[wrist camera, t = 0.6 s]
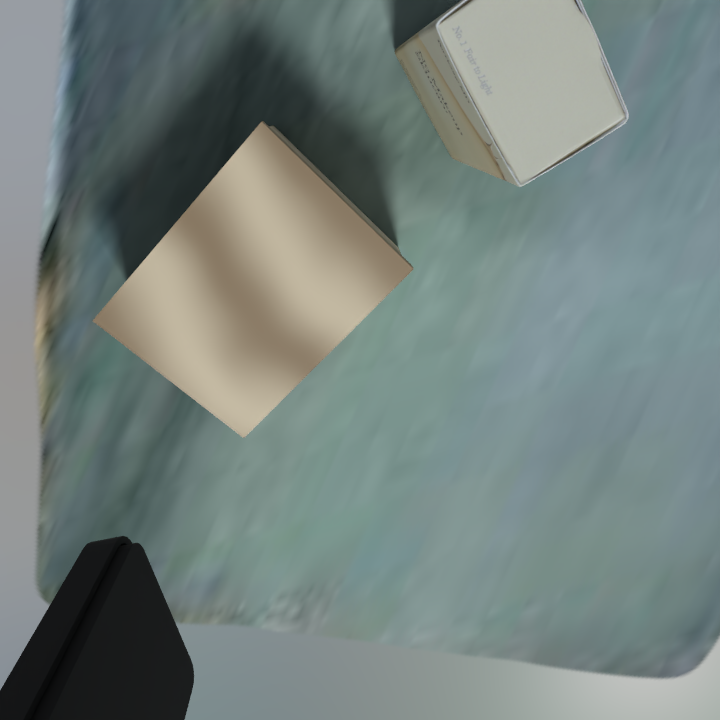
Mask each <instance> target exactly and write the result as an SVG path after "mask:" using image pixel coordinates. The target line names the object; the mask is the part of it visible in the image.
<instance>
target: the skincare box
mask: <svg viewBox="0 0 720 720" xmlns="http://www.w3.org/2000/svg"><path fill="white" fill-rule="evenodd" d="M395 54H396V56H397V58H398V60H399V62H400V64H401V65H402V67H403V69H404V71H405V73H406V75H407V77H408V79H409V81H410V83H411V85H412V87H413V89H414V90H415V92H416V94H417V96H418V98H419V100H420V101H421V103H422V105H423V107H424V109H425V111H426V113H427V114H428V116H429V118H430V120H431V121H432V123H433V125H434V127H435V129H436V130H437V132H438V134H439V136H440V137H441V139H442V141H443V143H444V145H445V146H446V148H447V150H448V152H449V154H450V155H451V157H452V158H453V159H455V160H457V161H460V162H462V163H464V164H467V165H469V166H472V167H474V168H476V169H479V170H481V171H484V172H486V173H488V174H491V175H493V176H495V177H498V178H501V179H503V180H505V181H508V182H510V183H512V184H515V185H517V186H519V187H521V186H524V185H526V184H527V183H529V182H531V181H532V180H534V179H536V178H537V177H539V176H540V175H542V174H544V173H546V172H547V171H549V170H551V169H552V168H554V167H556V166H557V165H559V164H561V163H563V162H564V161H566V160H567V159H569V158H571V157H572V156H574V155H576V154H577V153H579V152H580V151H582V150H584V149H585V148H587V147H589V146H590V145H592V144H594V143H595V142H597V141H598V140H600V139H602V138H603V137H605V136H606V135H608V134H609V133H611V132H613V131H614V130H616V129H617V128H619V127H620V126H622V125H624V124H625V123H626V122H627V120H628V117H629V113H628V110H627V108H626V105H625V103H624V100H623V98H622V95H621V93H620V90H619V88H618V85H617V83H616V80H615V78H614V76H613V73H612V71H611V68H610V66H609V64H608V61H607V59H606V56H605V54H604V52H603V49H602V47H601V44H600V42H599V39H598V37H597V35H596V32H595V30H594V28H593V26H592V24H591V21H590V19H589V17H588V15H587V13H586V10H585V8H584V6H583V3H582V1H581V0H461V1H460V2H459V3H457V4H456V5H454V6H453V7H452V8H450V9H449V10H447V11H446V12H445V13H443V14H442V15H441V16H439V17H438V18H436V19H435V20H434V21H432V22H431V23H430V24H428V25H427V26H426V27H424V28H423V29H422V30H420V31H419V32H417V33H416V34H415V35H414V36H412V37H411V38H410V39H408V40H407V41H406V42H404V43H403V44H402V45H400V46H399V47H398V48H397V49H396V50H395Z"/></svg>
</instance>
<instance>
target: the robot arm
mask: <svg viewBox="0 0 720 720" xmlns="http://www.w3.org/2000/svg"><path fill="white" fill-rule="evenodd" d="M193 683H194V671H193V664H192V662H191V659H190V656H189V654H188V652H187V649H186V647H185V645H184V642H183V640H182V638H181V635H180V633H179V631H178V628H177V626H176V624H175V621H174V619H173V617H172V614H171V612H170V610H169V607H168V605H167V603H166V600H165V598H164V596H163V593H162V591H161V589H160V586H159V584H158V581H157V579H156V577H155V574H154V572H153V570H152V567H151V565H150V563H149V560H148V558H147V556H146V553H145V551H144V549H143V547H142V546H141V545H140V544H139V543H133V544H132V542H131V540H130V539H128V538H127V537H125V536H121V537H115V538H110V539H105V540H100V541H94V542H90V543H88V544H87V545H86V546H85V547H84V548H83V550H82V552H81V553H80V555H79V557H78V558H77V560H76V562H75V564H74V565H73V567H72V569H71V570H70V572H69V574H68V576H67V577H66V579H65V581H64V582H63V584H62V586H61V588H60V589H59V591H58V593H57V594H56V596H55V598H54V600H53V601H52V603H51V605H50V606H49V608H48V610H47V611H46V613H45V615H44V617H43V618H42V620H41V622H40V623H39V625H38V627H37V629H36V630H35V632H34V634H33V635H32V637H31V639H30V641H29V642H28V644H27V646H26V647H25V649H24V651H23V652H22V654H21V656H20V658H19V659H18V661H17V663H16V665H15V666H14V668H13V670H12V672H11V673H10V675H9V676H8V678H7V680H6V682H5V683H4V685H3V687H2V688H1V690H0V720H184V719H185V715H186V711H187V708H188V704H189V700H190V696H191V692H192V688H193Z"/></svg>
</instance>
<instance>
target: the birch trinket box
mask: <svg viewBox="0 0 720 720" xmlns="http://www.w3.org/2000/svg"><path fill="white" fill-rule="evenodd" d="M412 270H413V267H412V265H411V264H410V263H409V262H408V261H407V260H406V259H405V258H404V257H403V256H402V255H401V253H400V250H399V248H398V247H397V246H396V245H395V244H394V243H393V242H392V241H391V240H390V239H389V238H388V237H387V236H386V235H385V234H384V233H383V232H382V231H381V230H380V229H379V228H378V227H377V226H376V225H375V224H374V223H373V222H372V221H371V220H370V219H369V218H368V217H367V216H366V215H365V214H364V213H363V212H362V211H361V210H360V209H358V208H357V207H356V206H355V205H354V204H353V203H352V202H351V201H350V200H349V199H348V198H347V197H346V196H345V195H344V194H343V193H342V192H341V191H340V190H339V189H338V188H337V187H336V186H335V185H334V184H333V183H332V182H331V181H330V180H329V179H328V178H327V177H326V176H325V175H324V174H323V173H322V172H321V171H320V170H319V169H317V168H316V167H315V166H314V165H313V164H312V163H311V162H310V161H309V160H308V159H307V158H306V157H305V156H304V155H303V154H302V153H301V152H300V151H299V150H298V149H297V148H296V147H295V146H294V145H293V144H292V143H291V142H290V141H289V140H288V139H287V138H286V137H285V136H284V135H283V134H282V133H281V132H280V131H279V130H278V129H277V128H275V127H274V126H268V125H267V124H266V123H265V122H264V121H262V122H261V123H260V124H259V125H258V126H257V128H256V129H255V130H254V131H253V132H252V133H251V135H250V136H249V137H248V138H247V139H246V140H245V142H244V143H243V144H242V145H241V146H240V148H239V149H238V150H237V151H236V152H235V153H234V155H233V156H232V157H231V158H230V159H229V161H228V162H227V163H226V164H225V165H224V166H223V168H222V169H221V170H220V171H219V172H218V174H217V175H216V176H215V177H214V178H213V179H212V181H211V182H210V183H209V184H208V185H207V186H206V188H205V189H204V190H203V191H202V192H201V194H200V195H199V196H198V197H197V198H196V199H195V201H194V202H193V203H192V204H191V205H190V207H189V208H188V209H187V210H186V211H185V212H184V214H183V215H182V216H181V217H180V218H179V219H178V221H177V222H176V223H175V224H174V225H173V227H172V228H171V229H170V230H169V231H168V232H167V234H166V235H165V236H164V237H163V238H162V240H161V241H160V242H159V243H158V244H157V245H156V247H155V248H154V249H153V250H152V251H151V253H150V254H149V255H148V256H147V257H146V258H145V260H144V261H143V262H142V263H141V264H140V265H139V267H138V268H137V269H136V270H135V271H134V273H133V274H132V275H131V276H130V277H129V278H128V280H127V281H126V282H125V283H124V284H123V286H122V287H121V288H120V289H119V290H118V291H117V293H116V294H115V295H114V296H113V297H112V298H111V300H110V301H109V302H108V303H107V304H106V306H105V307H104V308H103V309H102V310H101V311H100V313H99V314H98V315H97V316H96V317H95V319H94V320H93V321H94V322H95V323H96V324H97V325H99V326H100V327H101V328H103V329H104V330H105V331H106V332H108V333H109V334H110V335H112V336H113V337H114V338H115V339H117V340H118V341H119V342H121V343H122V344H123V345H124V346H126V347H127V348H128V349H130V350H131V351H132V352H133V353H135V354H136V355H137V356H139V357H140V358H141V359H142V360H144V361H145V362H146V363H148V364H149V365H150V366H151V367H153V368H154V369H155V370H157V371H158V372H159V373H161V374H162V375H163V376H164V377H166V378H167V379H168V380H170V381H171V382H172V383H173V384H175V385H176V386H177V387H179V388H180V389H181V390H182V391H184V392H185V393H186V394H188V395H189V396H190V397H191V398H193V399H194V400H195V401H197V402H198V403H199V404H200V405H202V406H203V407H204V408H206V409H207V410H208V411H209V412H211V413H212V414H213V415H215V416H216V417H217V418H218V419H220V420H221V421H222V422H224V423H225V424H226V425H228V426H229V427H230V428H231V429H233V430H234V431H235V432H237V433H238V434H239V435H240V436H242V437H243V438H245V437H246V436H247V435H248V434H249V433H250V432H251V431H252V430H253V429H254V428H255V427H256V426H257V425H258V424H259V423H260V422H261V421H262V420H263V419H264V418H265V417H266V416H267V415H268V414H269V413H270V412H271V411H272V410H273V409H274V408H275V407H276V406H277V405H278V404H279V403H280V402H281V401H282V400H283V399H284V398H285V397H286V396H287V395H288V394H289V393H290V392H291V391H292V390H293V389H294V388H295V387H296V386H297V385H298V384H299V383H300V382H301V381H302V380H303V379H304V378H305V377H306V376H307V375H308V374H309V373H310V372H311V371H312V370H313V369H314V368H315V367H316V366H317V365H318V364H319V363H320V362H321V361H322V360H323V359H324V358H325V357H326V356H327V355H328V354H329V353H330V352H331V351H332V350H333V349H334V348H335V347H336V346H337V345H338V344H339V343H340V342H341V341H342V340H343V339H344V338H345V337H346V336H347V335H348V334H349V333H350V332H351V331H352V330H353V329H354V328H355V327H356V326H357V325H358V324H359V323H360V322H361V321H362V320H363V319H364V318H365V317H366V316H367V315H368V314H369V313H370V312H371V311H372V310H373V309H374V308H375V307H376V306H377V305H378V304H379V303H380V302H381V301H382V300H383V299H384V298H385V297H386V296H387V295H388V294H389V293H390V292H391V291H392V290H393V289H394V288H395V287H396V286H397V285H398V284H399V283H400V282H401V281H402V280H403V279H404V278H405V277H406V276H407V275H408V274H409V273H410V272H411V271H412Z"/></svg>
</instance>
